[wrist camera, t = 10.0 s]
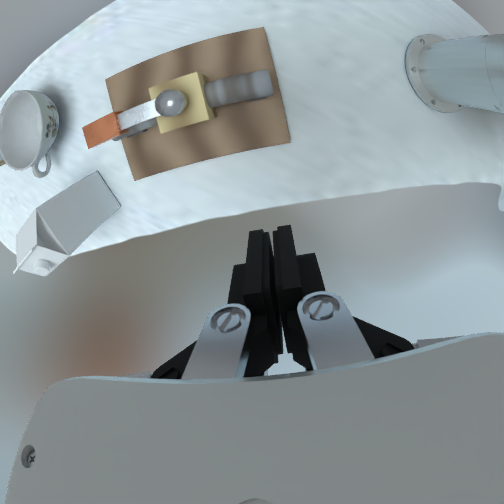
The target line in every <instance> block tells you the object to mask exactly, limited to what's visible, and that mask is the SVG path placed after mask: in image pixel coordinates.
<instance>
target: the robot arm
mask: <svg viewBox="0 0 504 504" xmlns="http://www.w3.org/2000/svg"><path fill="white" fill-rule="evenodd" d="M405 64H406V71H407V75H408V78H409V81H410V83H411V85H412V87H413V89H414V90H415V92H416V94H417V95H418V96H419V97H420V98H421V100H422V101H423V102H424V103H426V104H427V105H428V106H430V107H431V108H433V109H435V110H437V111H440V112H445V113H452V112H456V111H458V110H460V109H461V108H462V107H463V106H469V107H475V108H480V109H485V110H489V111H494V112H498V113H502V114H504V34H496V35H485V36H475V37H467V38H460V39H454V40H448V41H447V40H445V39H444V38H442V37H440V36H436V35H431V34H427V35H422V36H419V37H417V38H415V39H414V40H413V41H412V42H411V43H410V44H409V46H408V49H407V52H406V57H405ZM411 69H412V70H411ZM277 229H278V230H277V231H273V247H274V256H273V251H272V246H271V241H270V236H269V232H264V231H263V229H261V230H255V231H250V232H249V239H248V248H247V257H246V263H245V264H239V265H234V268H233V274H232V279H231V285H230V291H229V297H228V303H227V304H226V305H223V306H220V307H218V308H216V309H215V310H213V311H212V312H211V313H210V314H209V316H208V317H207V319H206V322H205V323H204V326H203V329H202V331H201V333H200V335H199V338H198V340H197V341H195V342H194V343H193V344H191V345H190V346H188V347H187V348H186V349H184V350H183V351H181V352H180V353H178V354H177V355H176V356H174V357H173V358H171V359H170V360H168V361H167V362H166V363H164V364H163V365H161V366H160V367H159V368H158V369H156V370H155V371H154V373H153V374H151V373H150V372H149V371H148V372H142V373H137V374H131V375H124V376H117V377H109V376H82V377H74V378H69V379H66V380H62V381H59V382H57V383H55V384H53V385H51V386H50V387H49V388H47V390H46V391H45V392H44V393H43V395H42V397H41V398H40V400H39V402H38V403H37V405H36V407H35V409H34V411H33V413H32V415H31V417H30V420H29V422H28V424H27V427H26V429H25V432H24V434H23V437H22V440H21V442H20V445H19V448H18V452H17V455H16V458H15V462H14V465H13V468H12V472H11V476H10V480H9V485H8V489H7V494H6V500H5V504H504V333H491V332H488V333H478V334H471V335H467V336H458V337H448V338H437V339H425V340H417V343H415V344H411V343H410V342H409V341H407V340H406V339H404V338H402V337H400V336H397V335H395V334H393V333H390V332H388V331H386V330H383V329H381V328H379V327H376V326H374V325H372V324H369V323H367V322H365V321H362V320H360V319H358V318H355V317H353V316H352V315H351V313H350V311H349V310H348V308H347V306H346V304H345V302H344V301H343V299H342V298H341V297H340V296H338V295H337V294H335V293H332V292H328V291H325V287H324V284H323V280H322V276H321V272H320V269H319V266H318V262H317V258H316V255H315V253H310V254H304V255H297V256H296V251H295V245H294V240H293V235H292V230H291V225H286V226H279V227H277ZM282 326H283V331H284V337H285V342H286V347H287V352H288V353H292V354H293V360H294V361H296V362H297V363H299V364H300V365H302V366H303V367H305V372H297V373H289V374H281V375H270V376H268V370H267V369H269V368H270V367H271V366H272V365H273V364H274V363H278V354H283V337H282Z"/></svg>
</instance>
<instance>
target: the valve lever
mask: <svg viewBox="0 0 504 504" xmlns="http://www.w3.org/2000/svg"><path fill="white" fill-rule="evenodd" d="M186 106H187V98H186V96H185V94H184V93H182V92H181V91H178V90H171V89H168V90H164V91H162V92H161V93H160V94H159V95H158V96H157V97H156V99H154V100H151V101H149V102H146V103H144V104H141V105H139V106H136V107H134V108H131V109H129V110H127V111H125V112H124V111H116V112H112V113H110V114H108V115H106V116H104V117H102V118H100V119H98V120H96V121H94V122H92V123H90V124H88V125H86V126H85V127H83V128H82V129H83V132H84V136H85V139H86V142H87V146H88V149H90V148H92V147H95V146H97V145H100V144H102V143H104V142H106V141H109V140H111V139H113V138H115V137H118V136H120V135H122V134H125V133H127V132H129V129H128V128H130V127H132V126H135V125H137V124H140V123H142V122H145V121H147V120H150V119H153V118H156V117H158V116H164V117H171V116H176V115H179V114H181V113H182V112H183V111H184V110H185V108H186Z"/></svg>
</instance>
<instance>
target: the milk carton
mask: <svg viewBox="0 0 504 504" xmlns="http://www.w3.org/2000/svg"><path fill="white" fill-rule="evenodd" d="M120 207H121V206H120V204H119V203H118V201H117V200H116V198H115V197H114V195H113V194H112V193H111V191H110V190H109V188H108V187H107V185H106V183H105V182H104V180H103V179H102V177H101V176H100V174H99V173H98V171H96V172H94V173H93V174H91V175H89V176H87V177H85V178H84V179H82V180H80V181H78V182H77V183H75V184H73V185H72V186H70V187H68V188H67V189H65V190H63V191H62V192H60V193H59V194H57V195H55V196H54V197H52V198H51V199H49V200H48V201H46V202H45V203H43V204H42V205H40V206H39V207H37V208H36V209H35V210H34V211H33V213H32V214H31V215H30V217H29V218H28V219H27V221H26V222H25V223H24V225H23V226H22V228H21V229H20V230H19V232H18V233H17V235H16V253H17V268H16V269H15V270H14V272H13V274H14V273H15V272H16V271H17V270H18V269H19V270H22V271H26V272H30V273H34V274H37V275H42V276H47V275H48V274H49V273H50V272H51V271H53V270H54V269H55V268H56V267H57V266H58V265H59V264H61V263H62V262H63V261H64V260H65V259H66V258H68V257H69V256H70V255H71V254H72V253H73V252H74V251H75V250H76V249H77V247H78V246H79V245H80V244H81V243H82V242H83V241H84V240H85V239H86V238H88V237H89V236H90V235H91V234H92V233H93V232H94V231H95V230H96V229H97V228H98V227H99V226H100V225H101V224H102V223H103V222H104V221H105V220H106V219H108V218H109V217H110V216H111V215H112V214H113V213H114V212H115V211H116V210H118V209H119V208H120Z"/></svg>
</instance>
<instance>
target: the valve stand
mask: <svg viewBox="0 0 504 504" xmlns="http://www.w3.org/2000/svg"><path fill="white" fill-rule="evenodd" d="M105 81H106V85H107V89H108V93H109V97H110V101H111V105H112V109H113V112H116V111H124V112H125V111H127V110H129V109H131V108H134V107H136V106H139V105H141V104H144V103H146V102H149V101H151V100H154V99H156V97H157V96H158V95H159V94H160V93H161V92H162V91H164V90H168V89H171V90H178V91H181V92H182V93H184V94H185V96H186V98H187V106H186V108H185V110H184V111H183V112H182V113H181V114H179V115H176V116H171V117H164V116H158V117H156V118H153V119H150V120H147V121H145V122H142V123H140V124H137V125H135V126H132V127H130V128H128V129H129V132H127V133H125V134H122V135H120V136H118V137H115V138H113V139H112V140H114V141H118V140H120V139H121V141H122V144H123V147H124V150H125V154H126V157H127V160H128V163H129V166H130V169H131V172H132V175H133V178H134V181H136V180H139V179H142V178H145V177H148V176H151V175H154V174H158V173H161V172H164V171H168V170H171V169H174V168H178V167H182V166H185V165H189V164H193V163H196V162H200V161H204V160H208V159H212V158H216V157H221V156H225V155H229V154H234V153H238V152H243V151H248V150H252V149H257V148H263V147H268V146H273V145H279V144H285V143H291V142H290V137H289V132H288V127H287V122H286V117H285V113H284V108H283V103H282V99H281V94H280V90H279V85H278V81H277V77H276V73H275V68H274V64H273V60H272V56H271V52H270V49H269V45H268V41H267V37H266V33H265V30H264V27H261V28H256V29H250V30H245V31H240V32H235V33H231V34H226V35H222V36H218V37H214V38H211V39H207V40H203V41H200V42H197V43H193V44H190V45H187V46H184V47H181V48H178V49H175V50H172V51H169V52H167V53H164V54H161V55H159V56H156V57H154V58H151V59H149V60H146V61H144V62H141V63H139V64H137V65H135V66H132V67H130V68H128V69H126V70H124V71H122V72H120V73H117V74H115V75H113V76H111V77H109V78H108V79H106V80H105Z"/></svg>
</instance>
